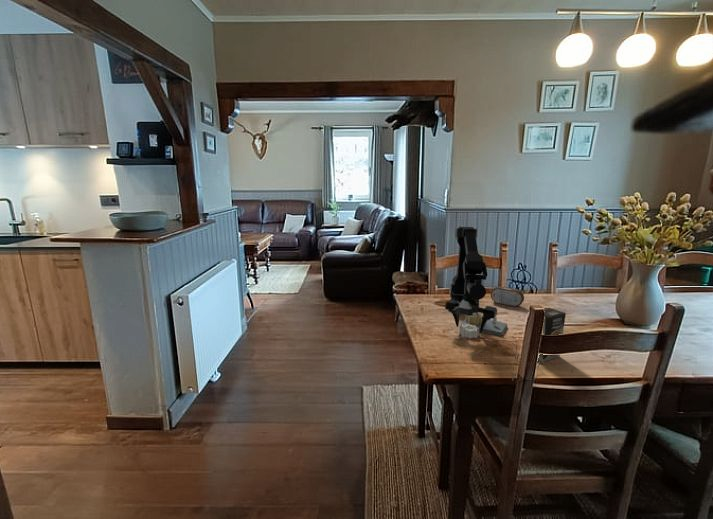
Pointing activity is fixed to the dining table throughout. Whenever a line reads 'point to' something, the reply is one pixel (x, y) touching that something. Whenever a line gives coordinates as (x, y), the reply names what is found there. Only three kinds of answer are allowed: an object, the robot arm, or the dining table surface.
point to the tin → (507, 296)
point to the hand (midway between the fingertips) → (469, 329)
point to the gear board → (490, 326)
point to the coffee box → (552, 328)
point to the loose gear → (469, 331)
